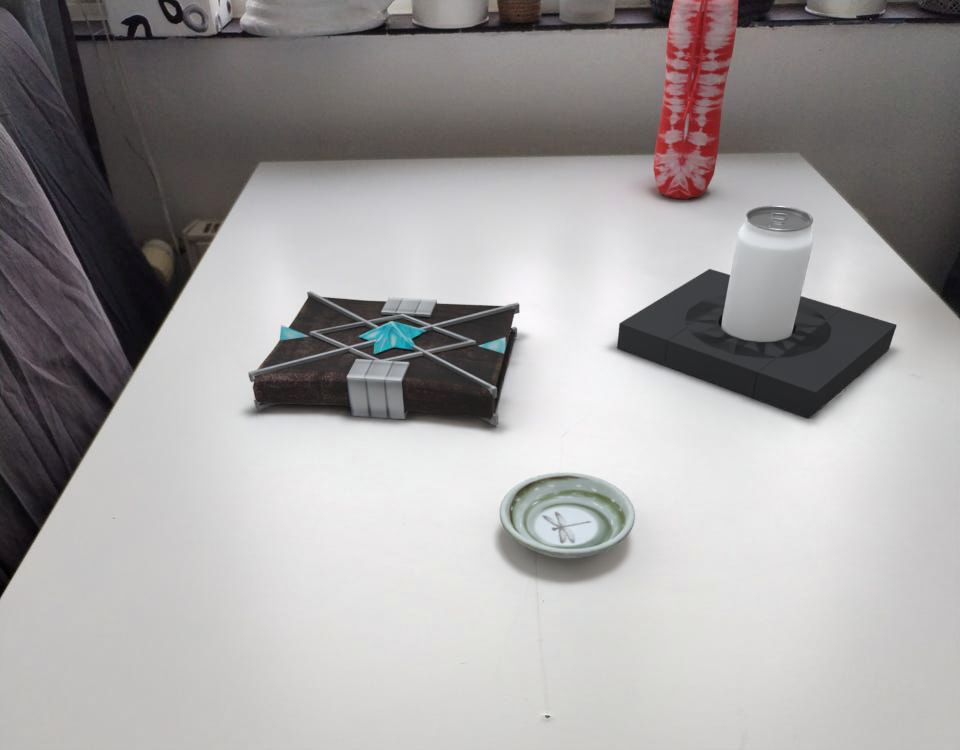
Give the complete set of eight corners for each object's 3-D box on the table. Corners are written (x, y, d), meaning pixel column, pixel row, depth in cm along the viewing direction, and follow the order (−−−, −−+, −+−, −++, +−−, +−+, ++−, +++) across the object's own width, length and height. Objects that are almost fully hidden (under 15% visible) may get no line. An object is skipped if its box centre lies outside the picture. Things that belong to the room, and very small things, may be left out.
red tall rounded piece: (659, 170, 121) (685, -63, 103) (719, 175, 119) (756, -61, 101) (642, 201, 113) (667, -46, 95) (706, 207, 111) (743, -44, 93)
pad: (889, 349, 84) (897, 324, 82) (808, 418, 76) (816, 392, 74) (705, 292, 94) (709, 268, 92) (616, 347, 86) (619, 323, 84)
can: (713, 360, 83) (737, 227, 75) (721, 329, 88) (744, 201, 79) (785, 368, 82) (817, 234, 73) (789, 337, 86) (819, 207, 78)
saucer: (659, 549, 64) (663, 522, 62) (545, 596, 61) (546, 569, 59) (582, 482, 70) (584, 456, 68) (476, 522, 67) (475, 495, 65)
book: (254, 411, 79) (242, 359, 75) (310, 325, 90) (302, 276, 87) (497, 428, 76) (497, 374, 72) (522, 337, 88) (523, 286, 84)
